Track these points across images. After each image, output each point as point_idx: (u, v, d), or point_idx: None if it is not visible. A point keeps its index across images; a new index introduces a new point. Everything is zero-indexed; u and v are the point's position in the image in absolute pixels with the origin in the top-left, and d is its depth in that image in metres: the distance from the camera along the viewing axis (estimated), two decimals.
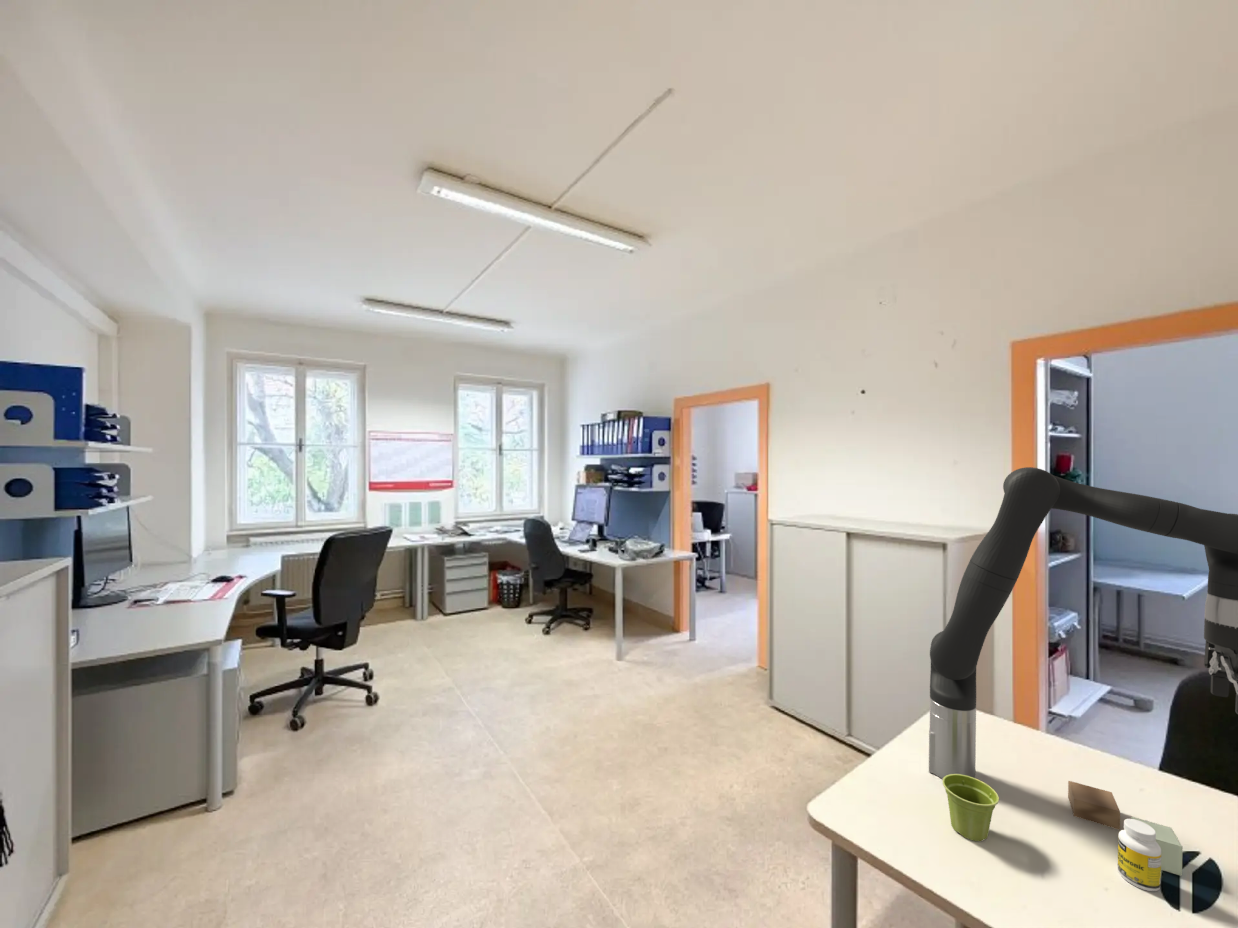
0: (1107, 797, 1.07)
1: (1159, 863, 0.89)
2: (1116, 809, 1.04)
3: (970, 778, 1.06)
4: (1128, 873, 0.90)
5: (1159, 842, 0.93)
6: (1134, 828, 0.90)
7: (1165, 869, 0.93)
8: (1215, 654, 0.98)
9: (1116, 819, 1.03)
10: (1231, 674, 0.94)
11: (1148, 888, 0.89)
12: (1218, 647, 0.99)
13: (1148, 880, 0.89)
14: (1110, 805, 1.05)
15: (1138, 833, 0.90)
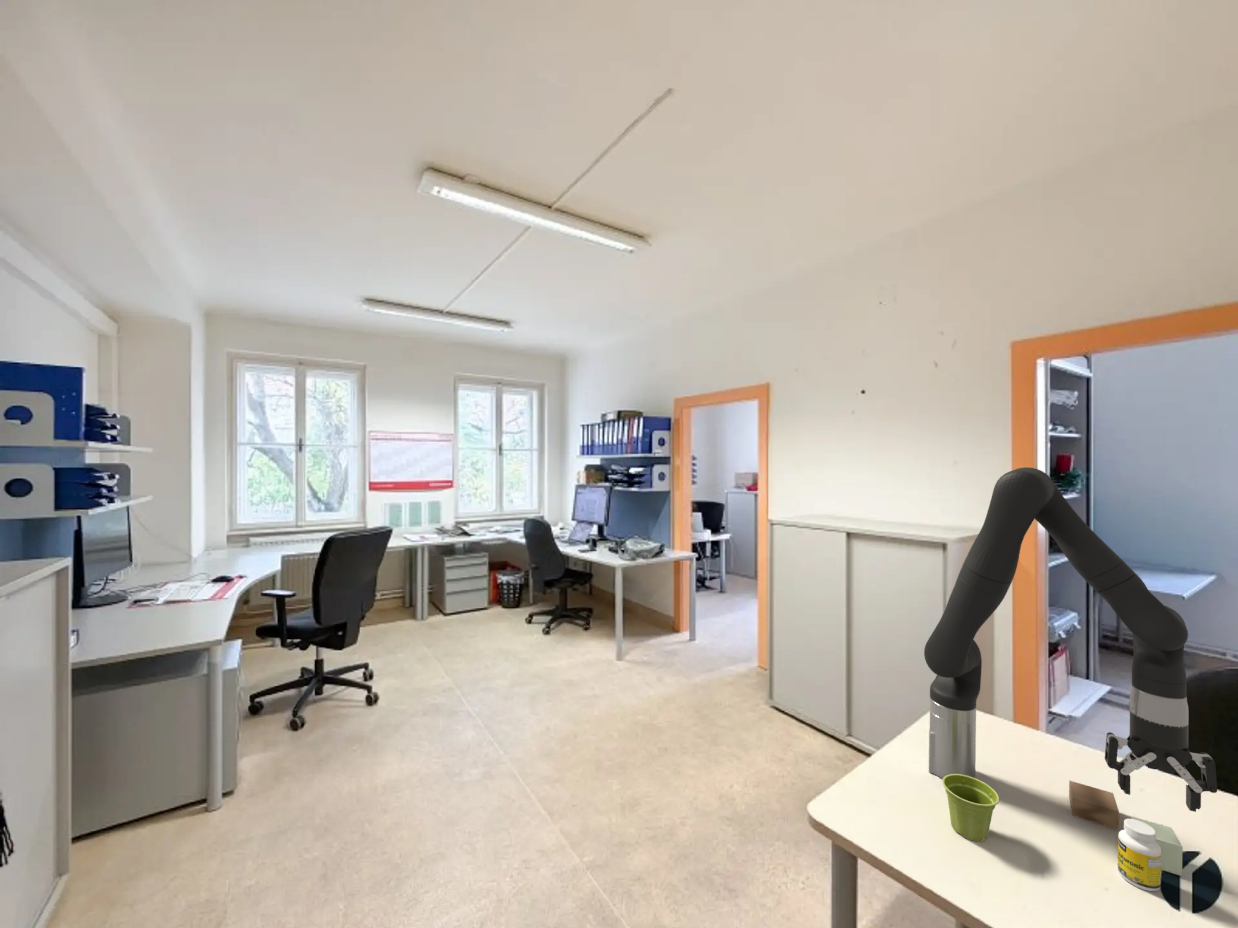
0: (1107, 797, 1.07)
1: (1159, 863, 0.89)
2: (1115, 809, 1.03)
3: (970, 778, 1.06)
4: (1128, 873, 0.90)
5: (1159, 842, 0.93)
6: (1134, 828, 0.90)
7: (1165, 869, 0.93)
8: (1153, 755, 0.94)
9: (1115, 819, 1.03)
10: (1188, 773, 0.92)
11: (1148, 888, 0.89)
12: (1142, 745, 0.95)
13: (1148, 880, 0.89)
14: (1110, 805, 1.05)
15: (1138, 833, 0.90)
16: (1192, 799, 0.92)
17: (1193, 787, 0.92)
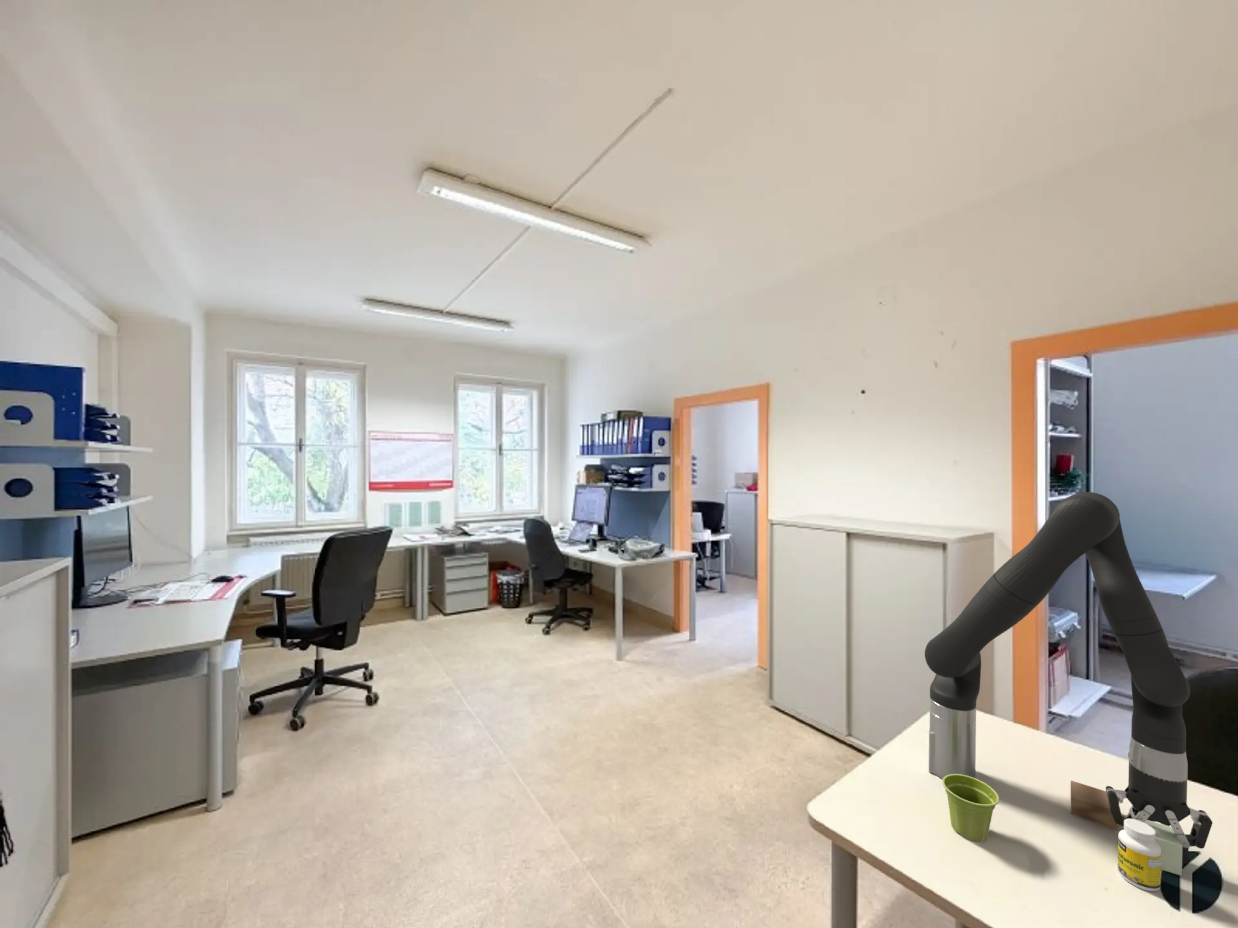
0: (1107, 798, 1.07)
1: (1159, 863, 0.89)
2: None
3: (970, 778, 1.06)
4: (1128, 873, 0.90)
5: (1159, 841, 0.93)
6: (1134, 828, 0.90)
7: (1165, 868, 0.93)
8: (1151, 808, 0.94)
9: None
10: (1181, 829, 0.93)
11: (1148, 888, 0.89)
12: (1139, 796, 0.96)
13: (1148, 880, 0.89)
14: (1109, 805, 1.05)
15: (1138, 833, 0.90)
16: None
17: (1181, 842, 0.93)
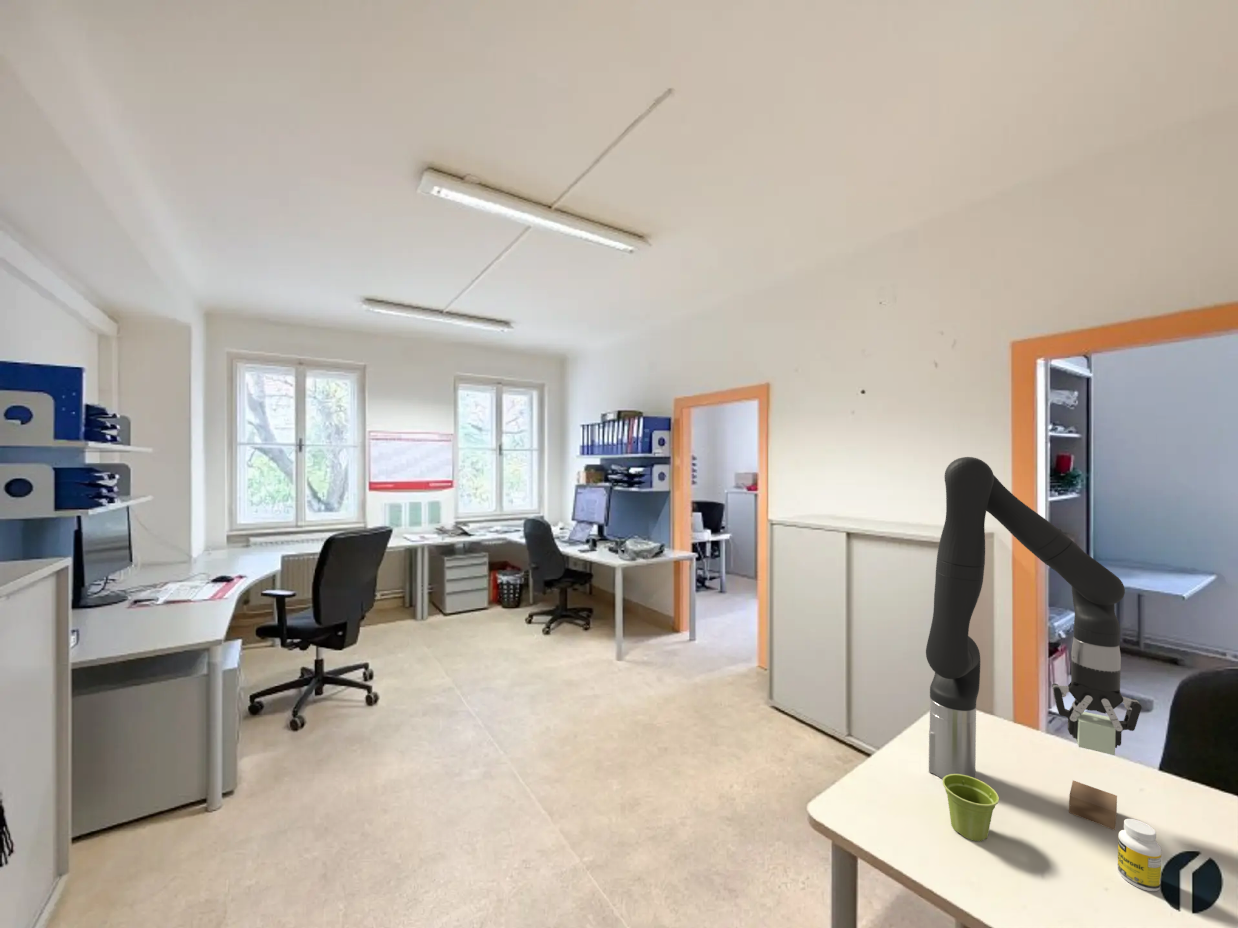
0: (1108, 798, 1.07)
1: (1159, 863, 0.89)
2: (1112, 809, 1.03)
3: (970, 778, 1.06)
4: (1128, 873, 0.90)
5: (1096, 726, 1.05)
6: (1134, 828, 0.90)
7: (1101, 750, 1.05)
8: (1089, 698, 1.06)
9: (1112, 820, 1.03)
10: (1115, 714, 1.04)
11: (1148, 888, 0.89)
12: (1080, 689, 1.08)
13: (1148, 880, 0.89)
14: (1108, 805, 1.05)
15: (1138, 833, 0.90)
16: None
17: (1115, 726, 1.05)
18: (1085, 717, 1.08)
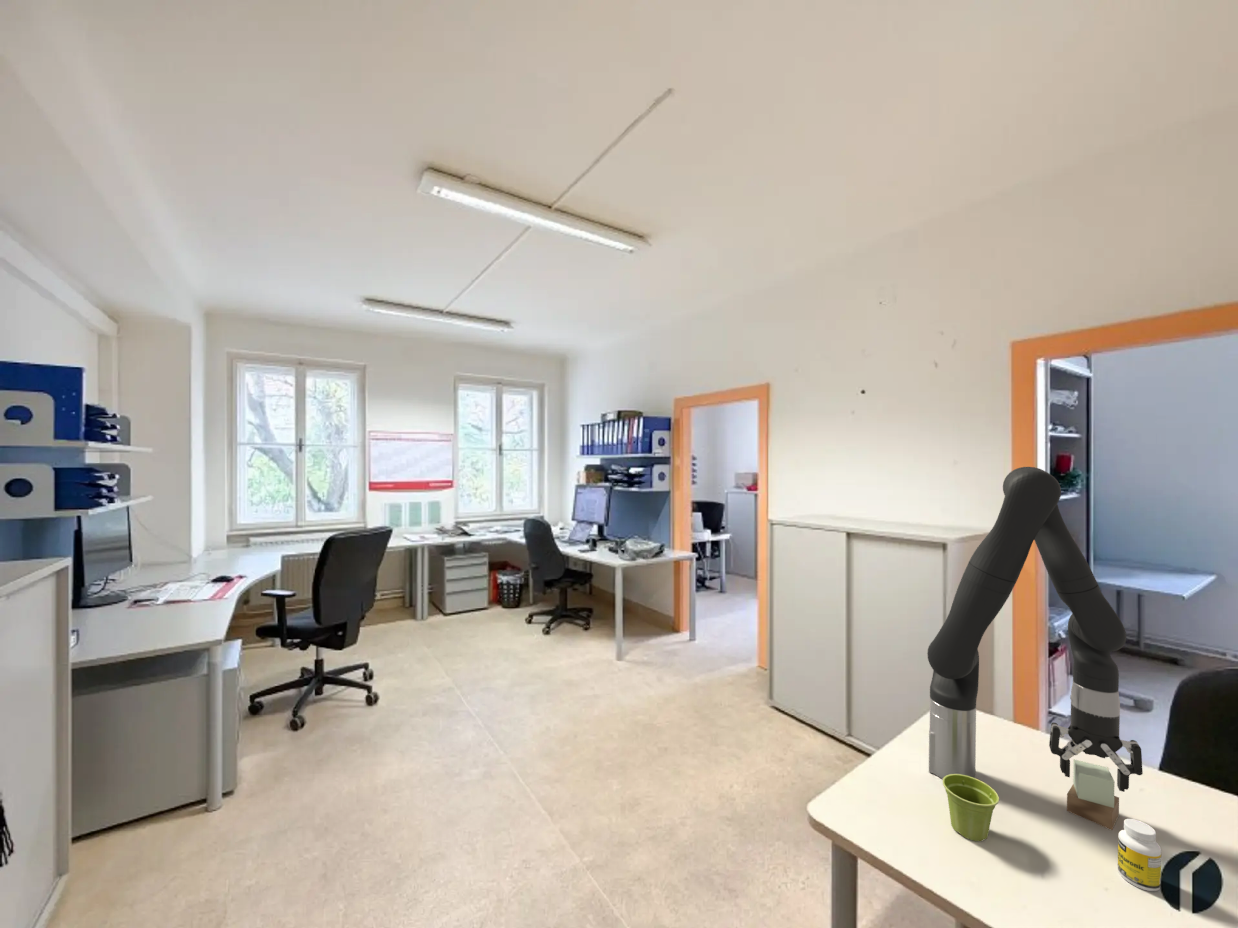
0: None
1: (1159, 863, 0.89)
2: (1109, 810, 1.03)
3: (970, 778, 1.06)
4: (1128, 873, 0.90)
5: (1095, 778, 1.05)
6: (1134, 828, 0.90)
7: (1100, 802, 1.05)
8: (1089, 743, 1.06)
9: (1109, 820, 1.03)
10: (1118, 758, 1.04)
11: (1148, 888, 0.89)
12: (1080, 734, 1.08)
13: (1148, 880, 0.89)
14: (1106, 806, 1.05)
15: (1138, 833, 0.90)
16: (1121, 781, 1.04)
17: (1122, 770, 1.04)
18: (1084, 768, 1.08)
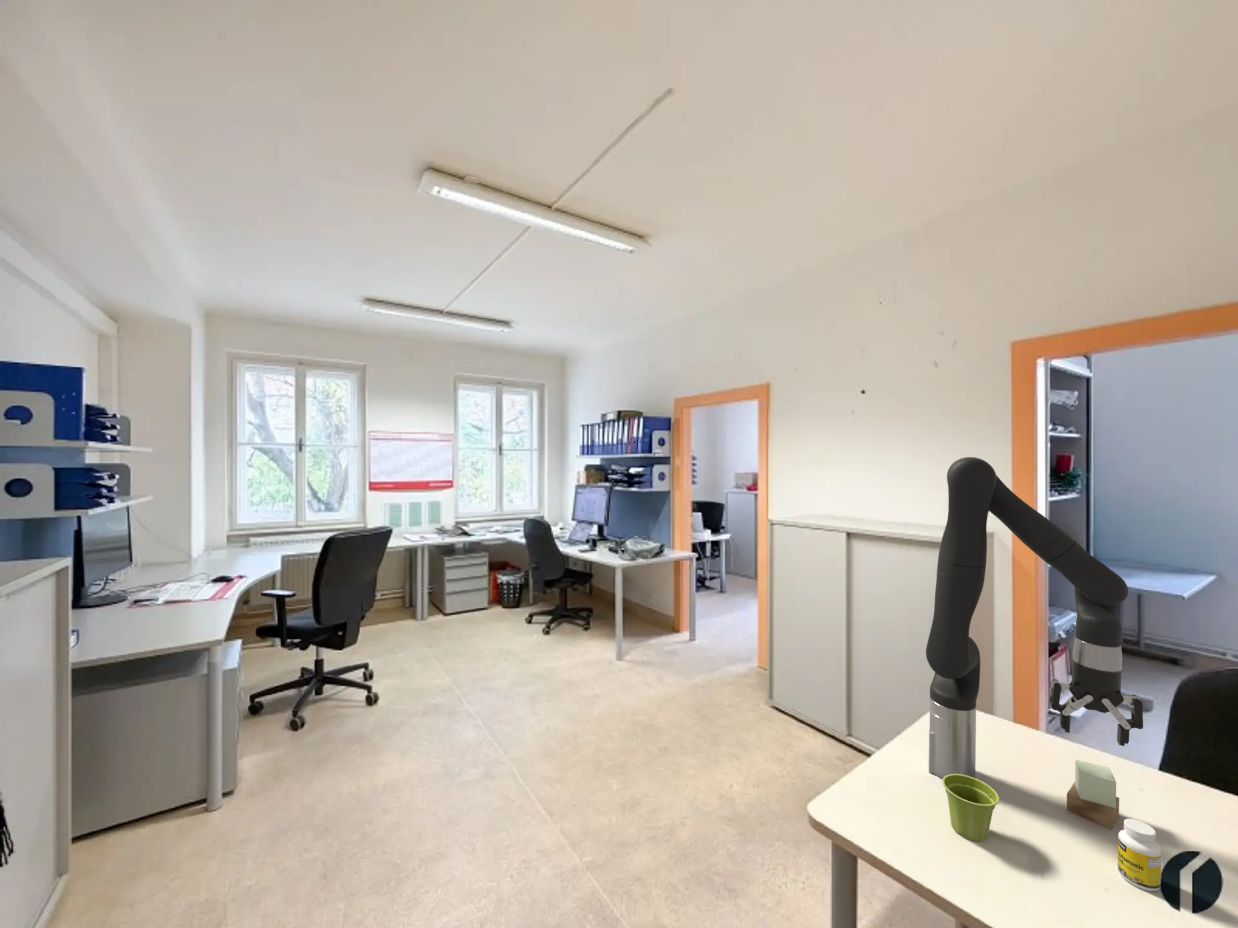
0: None
1: (1159, 863, 0.89)
2: (1109, 810, 1.03)
3: (970, 778, 1.06)
4: (1128, 873, 0.90)
5: (1096, 779, 1.05)
6: (1134, 828, 0.90)
7: (1102, 802, 1.05)
8: (1090, 698, 1.06)
9: (1108, 820, 1.03)
10: (1119, 713, 1.04)
11: (1148, 888, 0.89)
12: (1081, 689, 1.08)
13: (1148, 880, 0.89)
14: (1106, 806, 1.05)
15: (1138, 833, 0.90)
16: (1122, 735, 1.04)
17: (1123, 724, 1.04)
18: (1086, 768, 1.08)
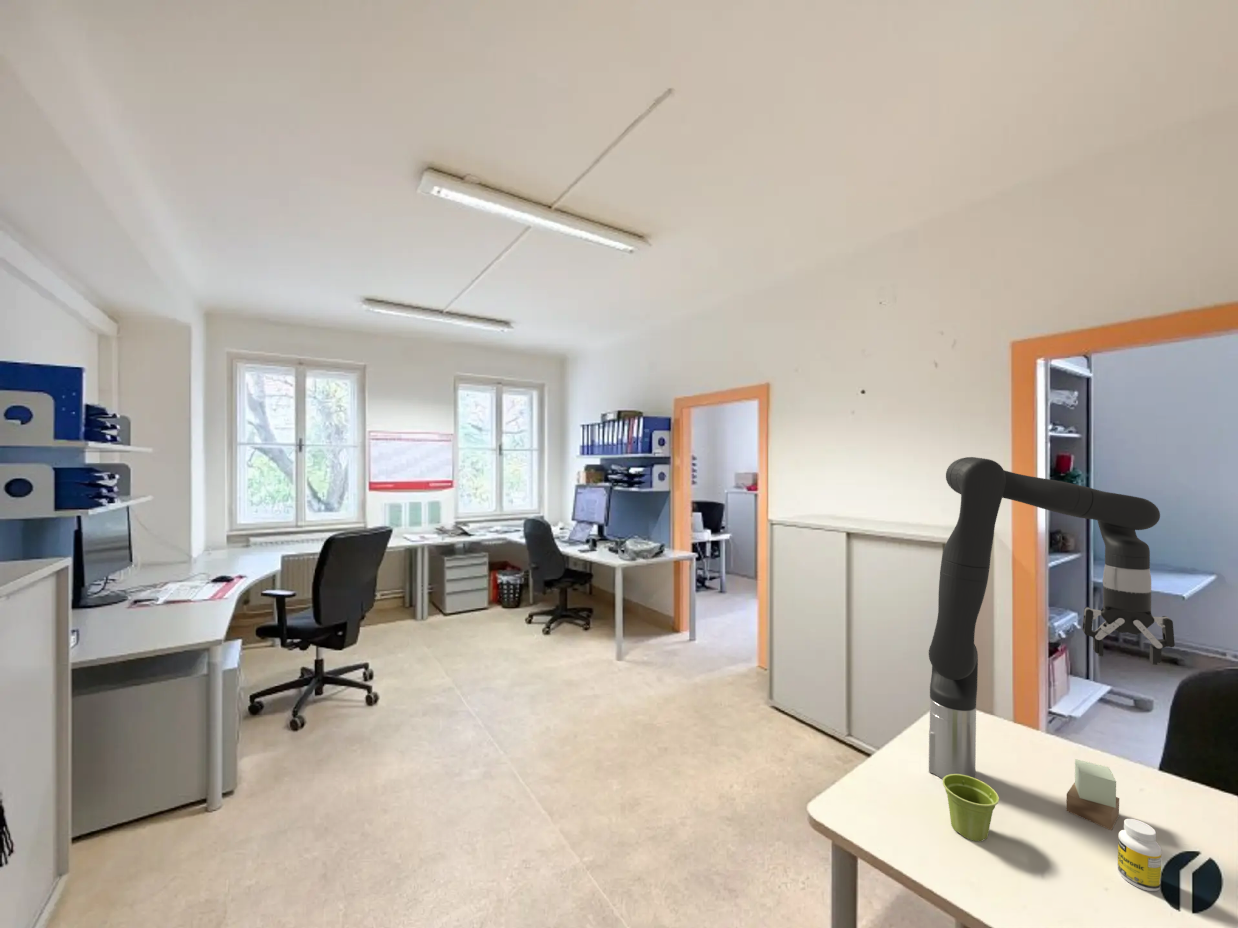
0: None
1: (1159, 863, 0.89)
2: (1109, 810, 1.03)
3: (970, 778, 1.06)
4: (1128, 873, 0.90)
5: (1096, 778, 1.06)
6: (1134, 828, 0.90)
7: (1101, 802, 1.05)
8: (1121, 620, 1.12)
9: (1108, 820, 1.03)
10: (1151, 633, 1.09)
11: (1148, 888, 0.89)
12: (1113, 613, 1.13)
13: (1148, 880, 0.89)
14: (1105, 806, 1.04)
15: (1138, 833, 0.90)
16: (1154, 654, 1.09)
17: (1155, 644, 1.09)
18: (1086, 767, 1.08)
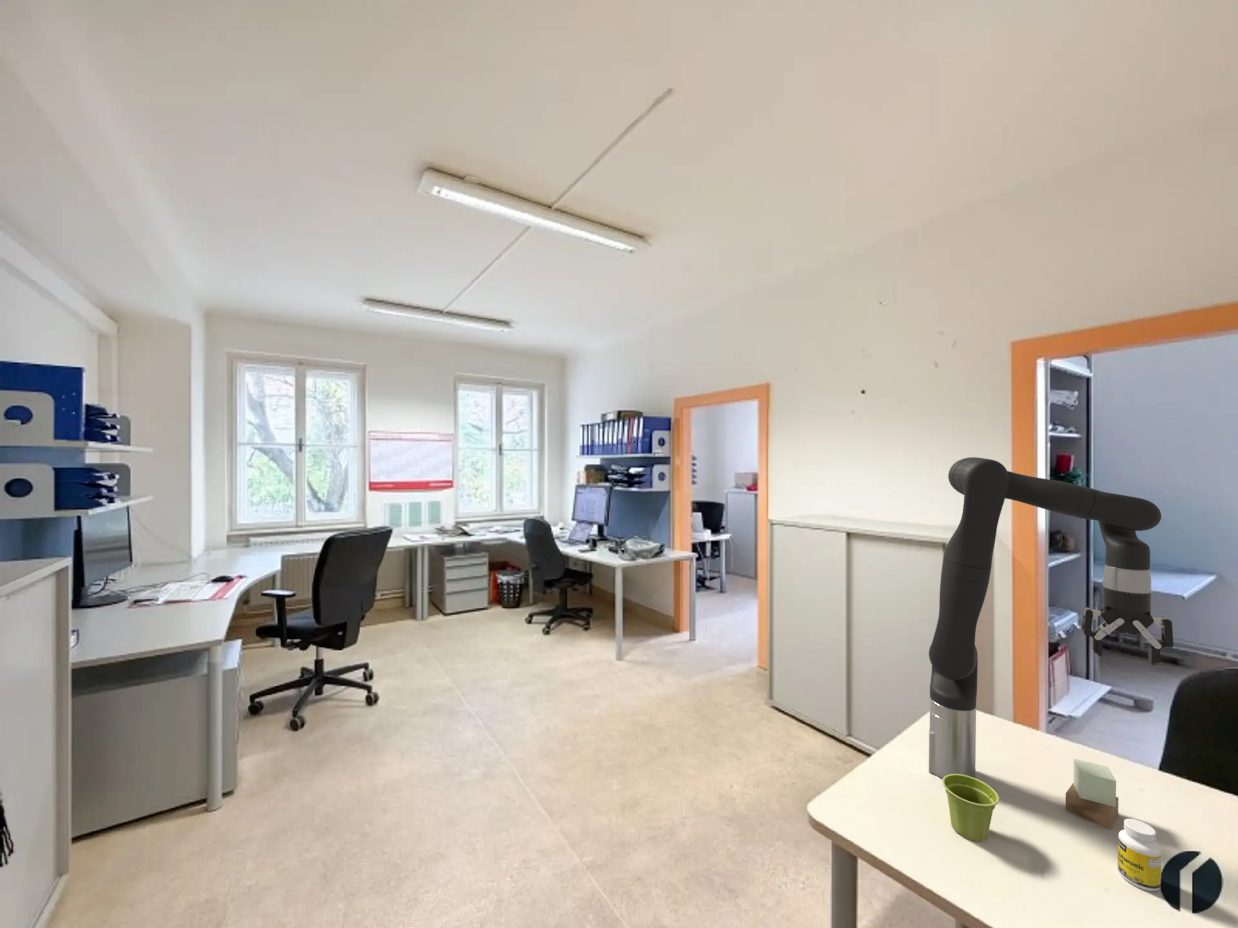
0: None
1: (1159, 863, 0.89)
2: (1108, 809, 1.03)
3: (970, 778, 1.06)
4: (1128, 873, 0.90)
5: (1097, 778, 1.05)
6: (1134, 828, 0.90)
7: (1101, 802, 1.05)
8: (1121, 621, 1.12)
9: (1107, 819, 1.03)
10: None
11: (1148, 888, 0.89)
12: (1112, 614, 1.13)
13: (1148, 880, 0.89)
14: (1104, 805, 1.05)
15: (1138, 833, 0.90)
16: (1153, 655, 1.10)
17: (1154, 644, 1.10)
18: (1085, 767, 1.08)
